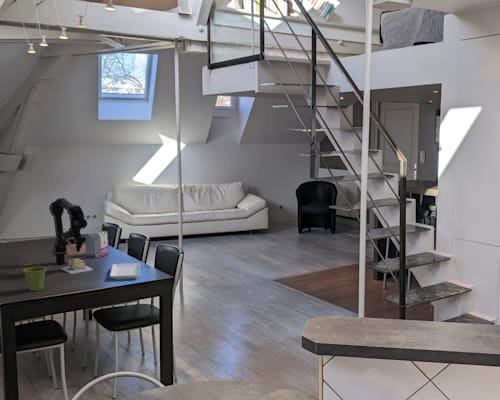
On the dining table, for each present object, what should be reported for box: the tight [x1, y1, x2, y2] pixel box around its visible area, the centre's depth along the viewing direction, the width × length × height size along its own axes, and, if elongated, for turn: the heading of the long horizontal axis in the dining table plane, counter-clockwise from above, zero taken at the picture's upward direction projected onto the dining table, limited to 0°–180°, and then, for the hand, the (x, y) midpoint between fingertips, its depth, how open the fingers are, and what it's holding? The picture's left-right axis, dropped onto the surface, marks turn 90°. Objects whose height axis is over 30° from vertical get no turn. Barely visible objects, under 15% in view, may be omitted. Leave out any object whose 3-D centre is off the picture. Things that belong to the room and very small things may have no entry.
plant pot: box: [22, 266, 48, 292], centre depth 298 cm, size 12×12×11 cm
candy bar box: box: [93, 231, 109, 259], centre depth 379 cm, size 11×5×16 cm, turn 168°
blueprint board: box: [60, 265, 94, 275], centre depth 342 cm, size 16×14×1 cm
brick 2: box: [68, 257, 86, 271], centre depth 341 cm, size 10×6×5 cm, turn 38°
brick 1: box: [66, 243, 87, 256], centre depth 340 cm, size 10×6×5 cm, turn 129°
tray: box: [109, 262, 141, 281], centre depth 331 cm, size 17×31×4 cm, turn 10°
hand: (76, 251), depth 341 cm, fingers closed on brick 1, 6 cm apart
